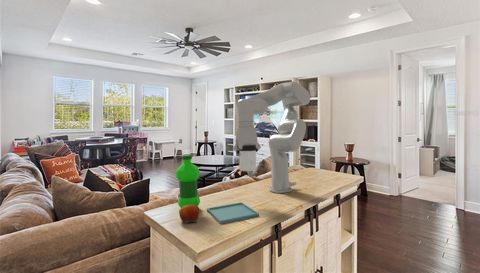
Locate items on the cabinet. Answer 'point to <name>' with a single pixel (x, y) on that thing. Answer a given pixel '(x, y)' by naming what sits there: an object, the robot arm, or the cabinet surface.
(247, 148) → the jar
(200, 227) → the cabinet surface
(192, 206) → the fruit
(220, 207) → the tray
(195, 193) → the plastic bottle
